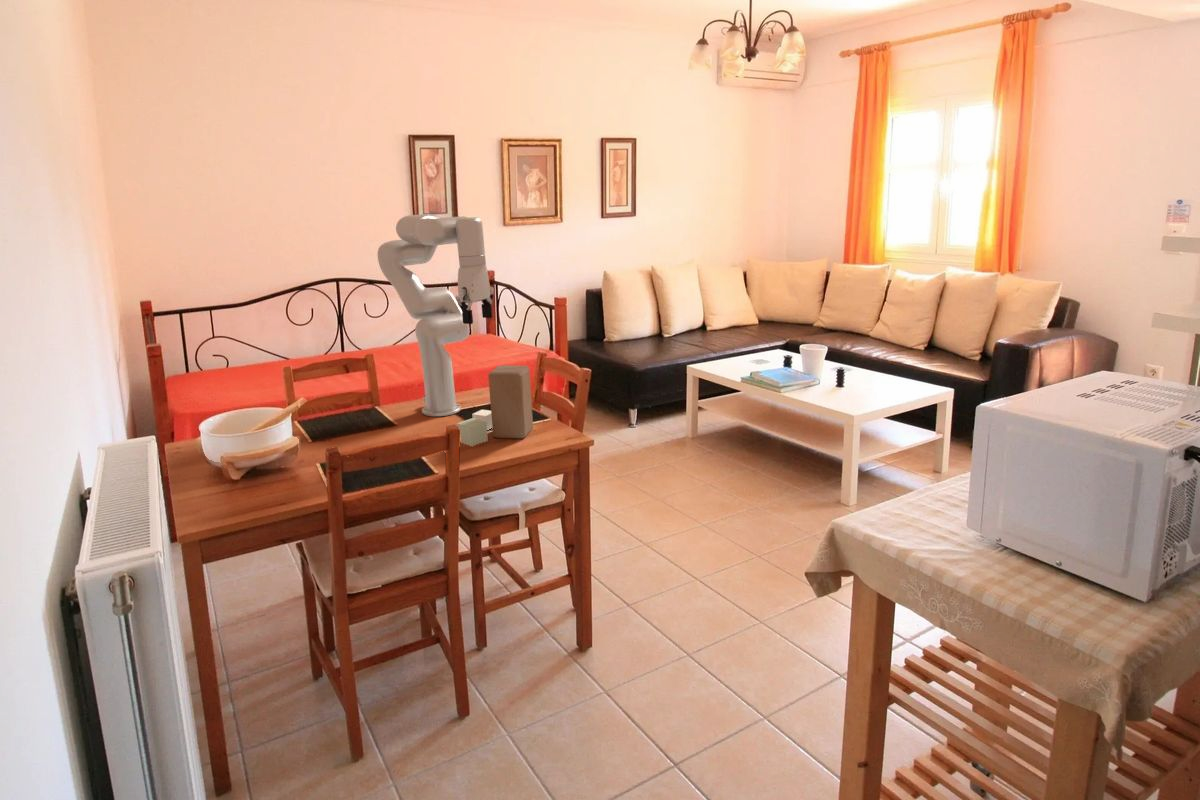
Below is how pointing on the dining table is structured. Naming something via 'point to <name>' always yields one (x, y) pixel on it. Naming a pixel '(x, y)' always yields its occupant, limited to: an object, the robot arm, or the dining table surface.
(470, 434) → the sage cube
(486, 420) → the cream cube
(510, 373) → the block
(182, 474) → the dining table surface
